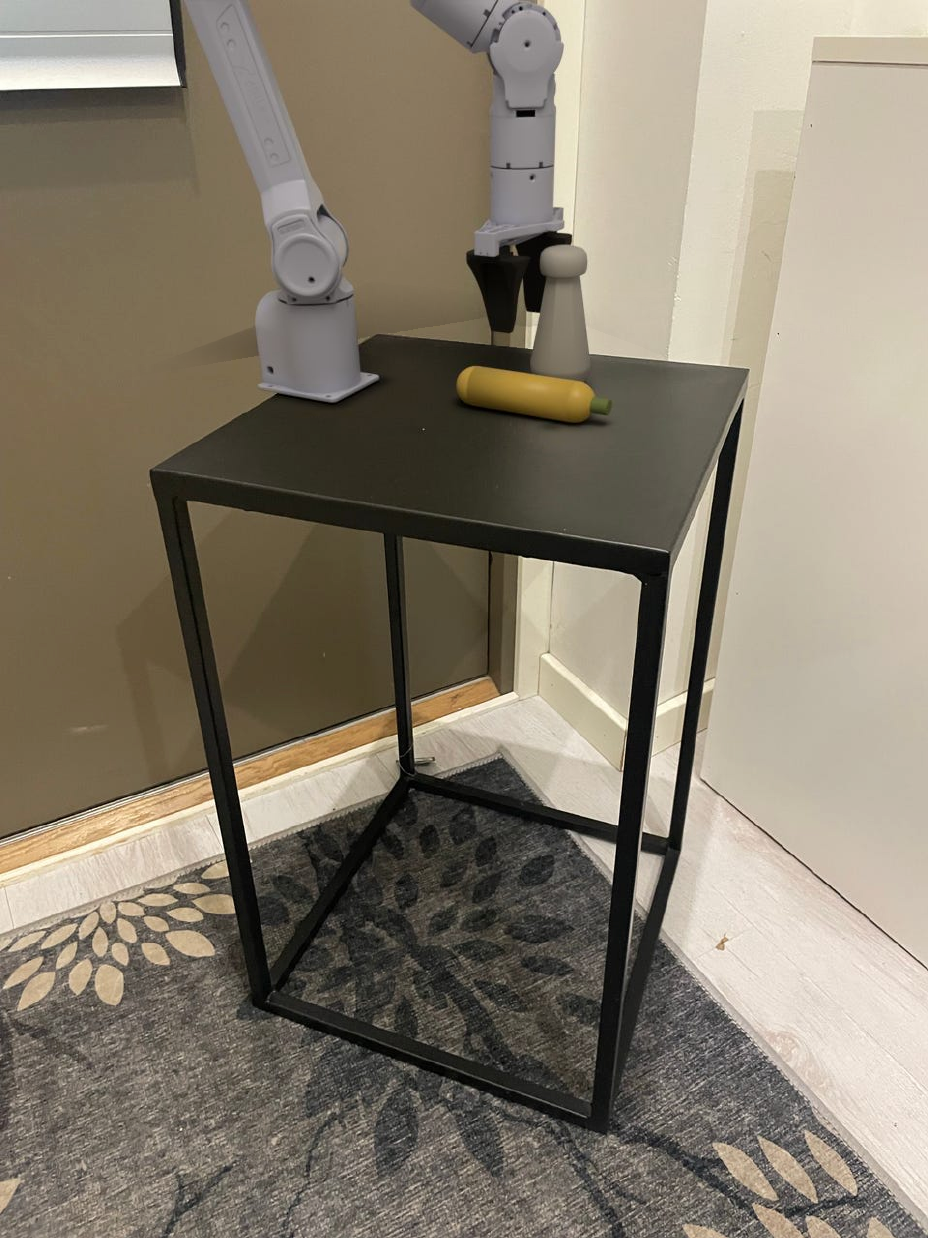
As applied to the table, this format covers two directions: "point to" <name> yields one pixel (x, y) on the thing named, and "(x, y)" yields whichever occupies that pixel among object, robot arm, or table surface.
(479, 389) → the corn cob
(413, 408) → the table surface
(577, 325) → the salt shaker
